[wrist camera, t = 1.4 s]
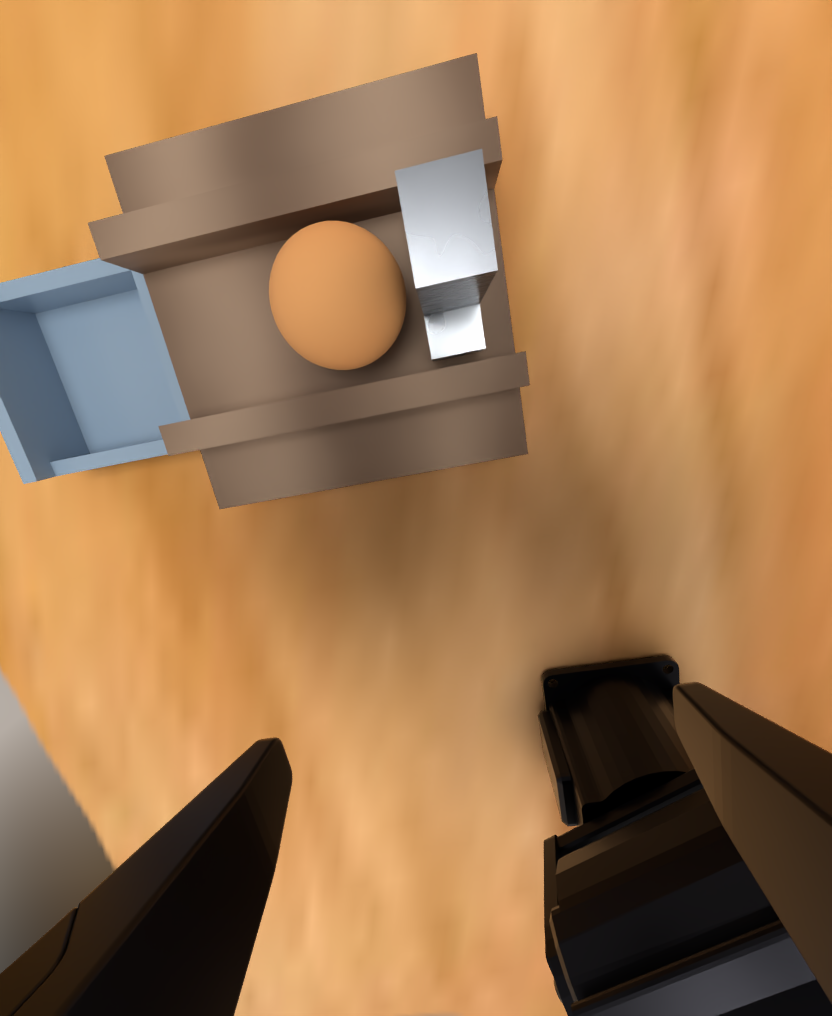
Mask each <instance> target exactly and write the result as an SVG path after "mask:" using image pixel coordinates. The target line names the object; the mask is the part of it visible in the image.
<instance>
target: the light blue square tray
mask: <svg viewBox="0 0 832 1016" xmlns="http://www.w3.org/2000/svg"><path fill="white" fill-rule="evenodd" d="M186 420H190V417H189V414H188V411H187V408H186V405H185V402H184V398H183V395H182V392H181V389H180V386H179V383H178V380H177V377H176V374H175V371H174V368H173V365H172V362H171V359H170V356H169V352H168V349H167V346H166V343H165V340H164V337H163V334H162V331H161V328H160V325H159V322H158V319H157V316H156V313H155V310H154V306H153V303H152V300H151V297H150V294H149V291H148V288H147V285H146V282H145V279H144V276H143V274H141V273H138V272H135V271H132V270H129V269H126V268H123V267H120V266H117V265H114V264H111V263H108V262H105V261H102V260H100V258H98V259H94V260H90V261H86V262H82V263H78V264H74V265H70V266H66V267H62V268H58V269H54V270H50V271H46V272H42V273H38V274H34V275H30V276H26V277H22V278H18V279H14V280H10V281H6V282H2V283H0V432H1V434H2V436H3V438H4V441H5V443H6V445H7V447H8V450H9V452H10V454H11V457H12V459H13V461H14V463H15V466H16V468H17V470H18V472H19V475H20V477H21V479H22V481H23V484H25V483H31V482H36V481H40V480H44V479H47V478H51V477H55V476H60V475H65V474H70V473H75V472H80V471H85V470H90V469H95V468H101V467H106V466H111V465H116V464H121V463H126V462H131V461H136V460H141V459H146V458H152V457H157V456H162V455H167V454H168V453H167V450H166V447H165V444H164V441H163V439H162V436H161V433H160V430H159V427H158V426H162V425H167V424H171V423H176V422H181V421H186Z"/></svg>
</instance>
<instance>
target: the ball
mask: <svg viewBox="0 0 832 1016" xmlns="http://www.w3.org/2000/svg"><path fill="white" fill-rule="evenodd" d="M269 300H270V306H271V311H272V314H273V317H274V320H275V323H276V325H277V327H278V329H279V331H280V332H281V334H282V336H283V337H284V339H285V340H286V341H287V342H288V344H289V345H290V346H291V347H292V348H293V349H294V350H295V351H296V352H297V353H298V354H300V355H301V356H302V357H303V358H305V359H307V360H308V361H310V362H312V363H314V364H316V365H319V366H321V367H325V368H328V369H334V370H351V369H356V368H360V367H363V366H366V365H368V364H370V363H372V362H374V361H376V360H377V359H379V358H380V357H381V356H382V355H384V354H385V353H386V352H387V351H388V349H389V348H390V347H391V346H392V345H393V343H394V342H395V340H396V339H397V337H398V335H399V333H400V331H401V328H402V325H403V322H404V318H405V313H406V289H405V283H404V279H403V275H402V273H401V270H400V267H399V265H398V263H397V261H396V260H395V258H394V256H393V255H392V253H391V252H390V251H389V249H388V248H387V247H386V246H385V245H384V243H383V242H382V241H381V240H380V239H378V238H377V237H376V236H375V235H374V234H372V233H371V232H369V231H367V230H366V229H364V228H362V227H359V226H357V225H355V224H352V223H348V222H343V221H323V222H318V223H315V224H312V225H309V226H307V227H305V228H303V229H301V230H299V231H298V232H296V233H295V234H294V235H293V236H291V237H290V238H289V239H288V240H287V241H286V243H285V244H284V245H283V246H282V248H281V249H280V251H279V253H278V254H277V256H276V259H275V261H274V263H273V266H272V270H271V273H270V280H269Z"/></svg>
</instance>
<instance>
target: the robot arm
mask: <svg viewBox="0 0 832 1016" xmlns="http://www.w3.org/2000/svg"><path fill="white" fill-rule="evenodd" d="M666 665H669V666H668V667H667V668H665V669H663V667H664V666H666ZM552 679H554V680H556V681H555V682H553V683H549V681H550V680H552ZM541 681H542V689H543V696H544V703H545V710H544V711H541V712H540V713H539V715H538V719H539V726H540V732H541V739H542V746H543V753H544V757H545V760H546V764H547V768H548V772H549V775H550V779H551V783H552V786H553V790H554V794H555V798H556V801H557V805H558V809H559V813H560V816H561V820H562V822H563V823H565V824H566V825H567V826H577V827H576V828H574V829H572V830H570V831H568V832H566V833H564V834H562V835H560V836H557V835H554V836H552V837H550V838H548V839H546V840H544V928H545V953H546V959H547V962H548V965H549V968H550V970H551V972H552V974H553V976H554V986H555V990H556V992H557V995H558V997H559V999H560V1001H561V1002H562V1003H563V1005H564V1007H565V1010H566V1012H567V1015H568V1016H832V754H831V753H830V752H828V751H826V750H824V749H822V748H820V747H818V746H817V745H815V744H813V743H811V742H809V741H807V740H805V739H804V738H802V737H800V736H798V735H796V734H794V733H792V732H791V731H789V730H787V729H785V728H783V727H781V726H779V725H778V724H776V723H774V722H772V721H770V720H768V719H766V718H764V717H763V716H761V715H759V714H757V713H755V712H753V711H751V710H750V709H748V708H746V707H744V706H742V705H740V704H738V703H737V702H735V701H733V700H731V699H729V698H727V697H725V696H724V695H722V694H720V693H718V692H716V691H714V690H712V689H711V688H709V687H707V686H705V685H703V684H701V683H698V682H691V683H684V684H680V683H679V667H678V664H677V663H676V662H675V660H674V659H673V658H672V657H670V656H656V657H648V658H641V659H633V660H625V661H617V662H610V663H602V664H594V665H586V666H579V667H571V668H563V669H555V670H549V671H546V672H545V673H543V675H542V677H541ZM291 786H292V770H291V766H290V764H289V761H288V758H287V755H286V752H285V749H284V747H283V744H282V742H281V740H280V739H279V738H267V739H261V740H258V741H257V742H255V743H254V744H253V745H252V746H251V747H250V748H249V749H248V750H246V751H245V752H244V753H243V754H242V755H241V756H240V757H239V758H238V759H237V760H235V761H234V762H233V763H232V764H231V765H230V766H229V767H228V768H227V769H226V770H225V771H223V772H222V773H221V774H220V775H219V776H218V777H217V778H216V779H215V780H214V781H212V782H211V783H210V784H209V785H208V786H207V787H206V788H205V789H204V790H203V791H201V792H200V793H199V794H198V795H197V796H196V797H195V798H194V799H193V800H192V801H191V802H189V803H188V804H187V805H186V806H185V807H184V808H183V809H182V810H181V811H180V812H178V813H177V814H176V815H175V816H174V817H173V818H172V819H171V820H170V821H169V822H168V823H166V824H165V825H164V826H163V827H162V828H161V829H160V830H159V831H158V832H157V833H155V834H154V835H153V836H152V837H151V838H150V839H149V840H148V841H147V842H146V843H144V844H143V845H142V846H141V847H140V848H139V849H138V850H137V851H136V852H135V853H134V854H132V855H131V856H130V857H129V858H128V859H127V860H126V861H125V862H124V863H123V864H121V865H120V866H119V867H118V868H117V869H116V870H115V871H114V872H113V873H112V874H111V875H109V876H108V877H107V878H106V879H105V880H104V881H103V882H102V883H101V884H100V885H98V886H97V887H96V888H95V889H94V890H93V891H92V892H91V893H90V894H89V895H88V896H86V897H85V898H84V899H83V900H82V901H81V902H80V903H79V905H78V908H73V909H72V910H71V911H70V912H69V913H68V914H66V915H65V917H64V918H62V919H61V920H60V921H59V922H58V923H57V924H56V925H55V926H53V927H52V928H51V929H50V930H49V931H48V932H47V933H46V934H45V935H43V937H41V938H40V939H39V940H38V941H37V942H36V943H35V944H33V945H32V946H31V947H30V948H29V949H28V950H27V951H25V952H24V953H23V954H22V955H21V956H20V957H19V958H18V959H16V960H15V961H14V962H13V963H12V964H11V965H10V966H9V967H7V968H6V969H5V970H4V971H3V972H2V973H1V974H0V1016H234V1013H235V1010H236V1006H237V1003H238V999H239V996H240V992H241V989H242V985H243V982H244V978H245V975H246V971H247V968H248V964H249V961H250V957H251V954H252V950H253V947H254V943H255V940H256V936H257V933H258V929H259V926H260V922H261V919H262V915H263V912H264V908H265V905H266V901H267V898H268V894H269V891H270V887H271V884H272V880H273V876H274V872H275V868H276V863H277V859H278V854H279V849H280V844H281V838H282V833H283V828H284V822H285V817H286V812H287V807H288V801H289V796H290V791H291Z"/></svg>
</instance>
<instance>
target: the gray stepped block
mask: <svg viewBox="0 0 832 1016" xmlns="http://www.w3.org/2000/svg"><path fill="white" fill-rule="evenodd" d="M395 176H396V181H397V187H398V193H399V198H400V204H401V210H402V215H403V221H404V226H405V232H406V238H407V243H408V249H409V254H410V260H411V266H412V271H413V277H414V283H415V288H416V292H417V295H418V298H419V301H420V305H421V308H422V311H423V314H424V318H425V324H426V330H427V336H428V341H429V347H430V353H431V358H432V361H438V360H443V359H447V358H452V357H457V356H462V355H467V354H472V353H477V352H480V351H482V350H484V349H485V348H486V346H485V339H484V332H483V325H482V318H481V311H480V302H481V301H482V299H483V297H484V295H485V293H486V291H487V289H488V288H489V286H490V284H491V282H492V280H493V278H494V276H495V275H496V273H497V271H498V267H497V260H496V252H495V244H494V237H493V229H492V222H491V214H490V206H489V199H488V191H487V184H486V176H485V168H484V161H483V153H482V149H479V150H475V151H471V152H467V153H463V154H459V155H455V156H451V157H447V158H443V159H439V160H435V161H431V162H427V163H423V164H419V165H415V166H412V167H408V168H404V169H400V170H396V171H395Z"/></svg>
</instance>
